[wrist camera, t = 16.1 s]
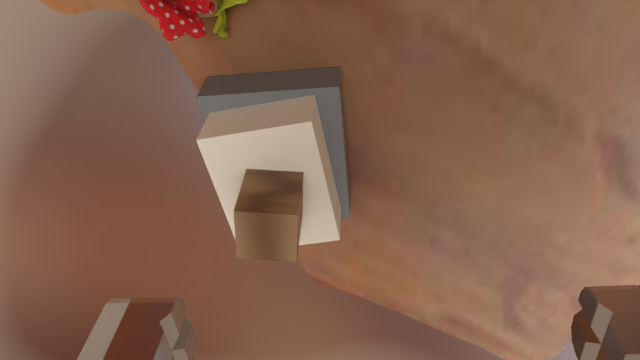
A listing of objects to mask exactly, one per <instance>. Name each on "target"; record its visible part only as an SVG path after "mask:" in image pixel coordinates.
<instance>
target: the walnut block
mask: <svg viewBox="0 0 640 360" xmlns="http://www.w3.org/2000/svg"><path fill="white" fill-rule="evenodd" d="M303 174H304V172H292V171H276V170H260V169H246V172H245V175H244V179H243V182H242V185H241V188H240V192H239V195H238V198H237V201H236V205H235V208H234V225H235V239H236V253H237V258H241V259H255V260H272V261H287V262H297V256H298V248H299V240H300V232H301V224H302V211H303Z"/></svg>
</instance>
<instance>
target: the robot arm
mask: <svg viewBox="0 0 640 360" xmlns="http://www.w3.org/2000/svg"><path fill="white" fill-rule="evenodd" d="M578 301H579V303H580V305H581V307H582V310H580V311H579V312H578V313H577V314H575V315H574V317H573V321H572V326H571V335H572V343H573V347H574V351H575V353H576V356H577V358H578V360H640V285H638V286H637V285H622V286H595V287H584V289H583V290H582V291H581V293H580V296H579V299H578ZM186 312H187V307H186V305H185V302H184V300H183V299H181V298H112V299H111V300H110V301H109V302H107V303H106V305H105V307H104V309H103V310H102V312H101V315H100V316H99V318H98V320H97V322H96V324H95V326H94V328H93V330H92V331H91V333H90V335H89V337H88V339H87V341H86V343H85V345H84V347H83V349H82V351H81V353H80V355H79V357H78V358H77V360H194V357H195V348H196V337H195V330H194V327H193V324H192V323H191V322H189V321H188V320H187V319H185V315H186Z"/></svg>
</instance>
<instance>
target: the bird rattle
mask: <svg viewBox="0 0 640 360" xmlns="http://www.w3.org/2000/svg"><path fill="white" fill-rule="evenodd" d="M247 1H248V0H140V3H141V5H142V7H143V9H144V10H145V11H147V12H148V13H150V14H151V15H153V16H155V17H156V18H157V19H158V21H159V24H160V28H161V31H162V33H163V36H164V38H166V39H167V40H169V41H172V40H174V39H176V38H178V37H180V36H183V35H185V34H190V35H191V36H193V37H194V38H197V39H201V38H202V37H203V36H204V35H205V33H206V32H205V25H204V22H203V21H202V19H201V18H200V17H214V16H218V19H217V21H216V23H215V25H214V27H213V30H212V32H213V33H215V34H217V33H218V35H219V36H220V37H222V38H224V39H227V38H228V33H227V32H226V29H227V13H226V10H225V9H226V8H229V7H231V6H233V5H235V4H244V3H246V2H247Z"/></svg>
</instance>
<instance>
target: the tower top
mask: <svg viewBox="0 0 640 360" xmlns="http://www.w3.org/2000/svg"><path fill="white" fill-rule="evenodd" d="M196 140H197V143H198V146H199V148H200V151H201V154H202V156H203V159H204V161H205V164H206V166H207V169H208V171H209V174H210V177H211V179H212V181H213V184H214V187H215V189H216V192H217V194H218V197H219V199H220V202H221V205H222V207H223V210H224V212H225V214H226V217H227V220H228V222H229V225H230V227H231V230H232V232H233V235H234V237H235V225H234V208H235V205H236V201H237V198H238V195H239V192H240V188H241V185H242V182H243V179H244V175H245V172H246V169H260V170H276V171H292V172H304V174H303V211H302V224H301V232H300V240H299V245H305V244H313V243H321V242H329V241H337V240H340V226H341V206H340V202H339V198H338V193H337V189H336V185H335V180H334V176H333V172H332V167H331V163H330V159H329V154H328V150H327V146H326V141H325V137H324V133H323V128H322V124H321V120H320V115H319V111H318V107H317V102H316V98H315V95H311V96H306V97H300V98H294V99H288V100H282V101H276V102H270V103H264V104H259V105H253V106H247V107H241V108H235V109H229V110H223V111H217V112H212V113H209V115H208V117H207V119H206V121H205V123H204V125H203V127H202V129H201V131H200V133H199V135H198V137H197V139H196ZM235 240H236V239H235Z"/></svg>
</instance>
